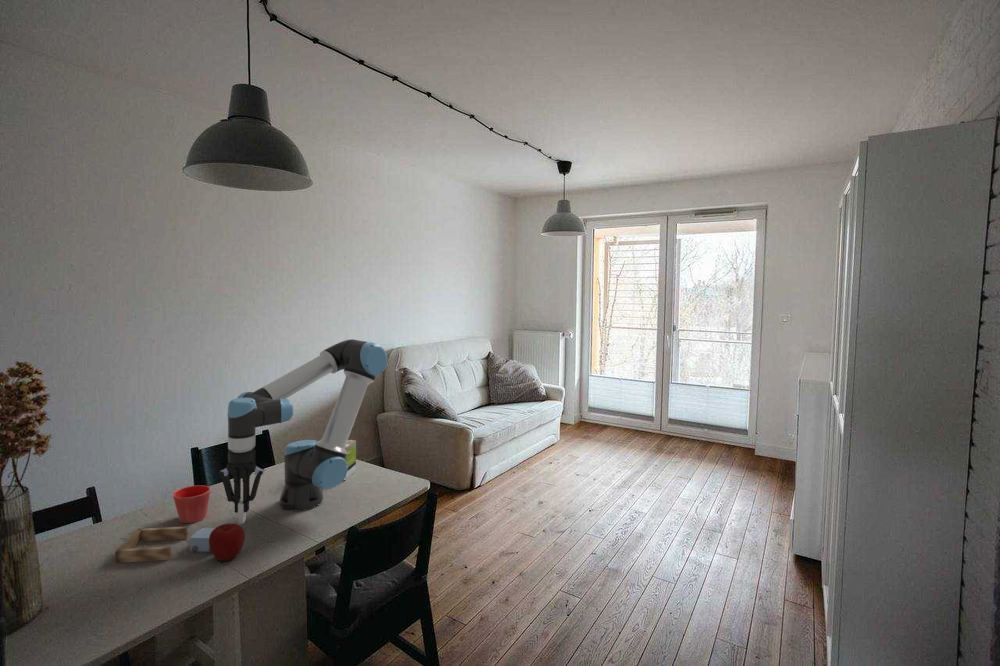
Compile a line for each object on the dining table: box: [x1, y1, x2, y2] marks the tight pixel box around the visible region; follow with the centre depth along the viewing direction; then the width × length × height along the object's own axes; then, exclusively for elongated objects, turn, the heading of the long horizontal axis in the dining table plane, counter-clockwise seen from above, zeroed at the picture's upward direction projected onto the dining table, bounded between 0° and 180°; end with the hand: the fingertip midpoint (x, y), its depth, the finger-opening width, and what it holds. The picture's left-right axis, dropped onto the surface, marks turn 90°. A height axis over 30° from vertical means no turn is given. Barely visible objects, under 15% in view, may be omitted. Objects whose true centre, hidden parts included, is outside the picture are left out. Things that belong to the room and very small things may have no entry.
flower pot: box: [172, 484, 211, 524], centre depth 176 cm, size 11×11×10 cm
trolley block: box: [189, 527, 216, 553], centre depth 160 cm, size 8×7×4 cm
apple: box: [209, 522, 246, 562], centre depth 153 cm, size 10×10×10 cm
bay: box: [114, 526, 189, 564], centre depth 157 cm, size 14×13×4 cm
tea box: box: [317, 438, 357, 478], centre depth 218 cm, size 15×10×15 cm
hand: (241, 521), depth 160 cm, fingers closed
